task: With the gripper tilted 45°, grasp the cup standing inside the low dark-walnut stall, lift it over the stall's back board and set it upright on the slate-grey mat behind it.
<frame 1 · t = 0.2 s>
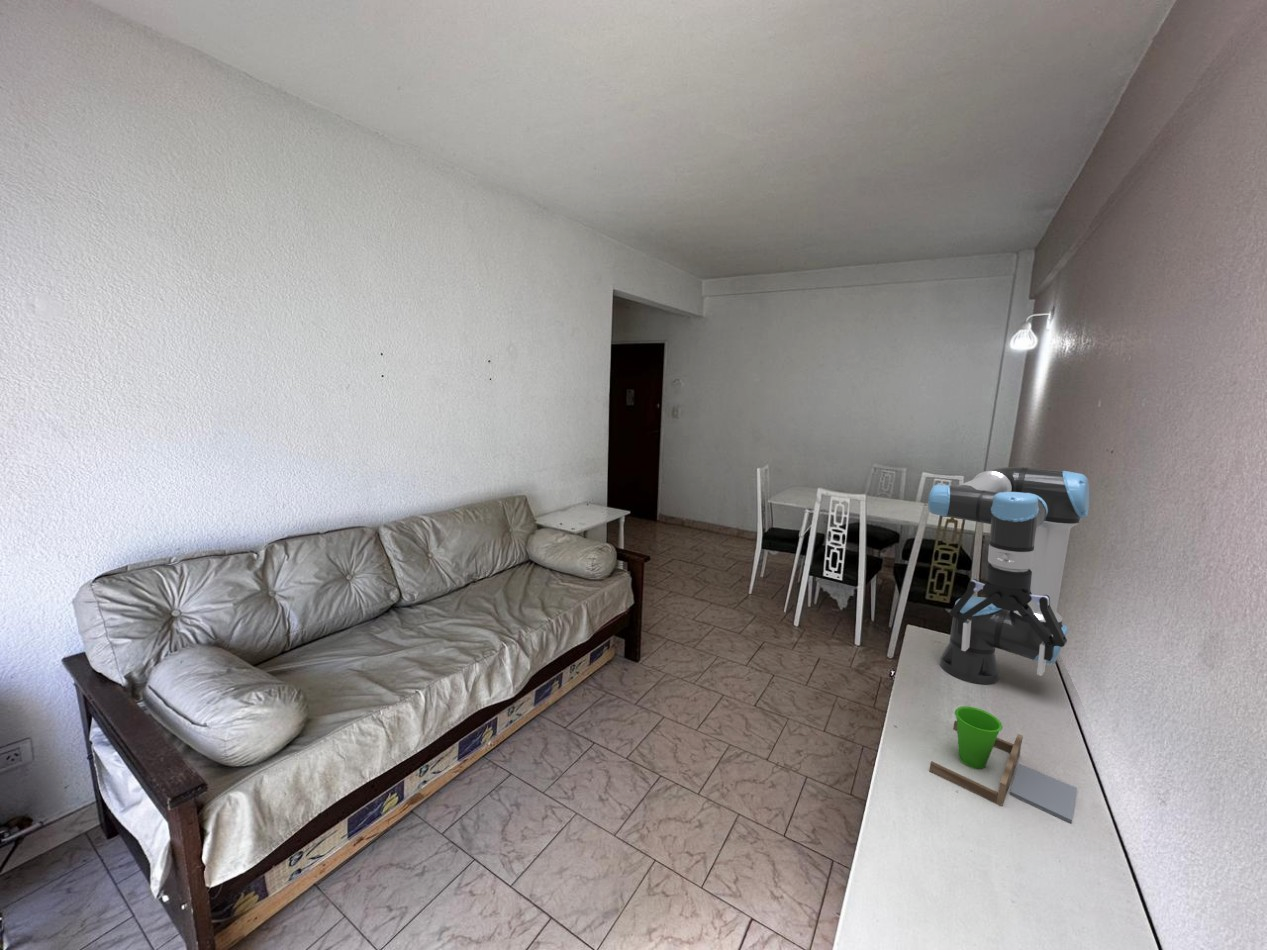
hand: (1001, 660, 108), 27 cm above the table, tool pointing down, fingers open, 13 cm apart
cup: (971, 761, 116), on the table
stall: (971, 761, 116), on the table
mat: (1043, 793, 107), on the table
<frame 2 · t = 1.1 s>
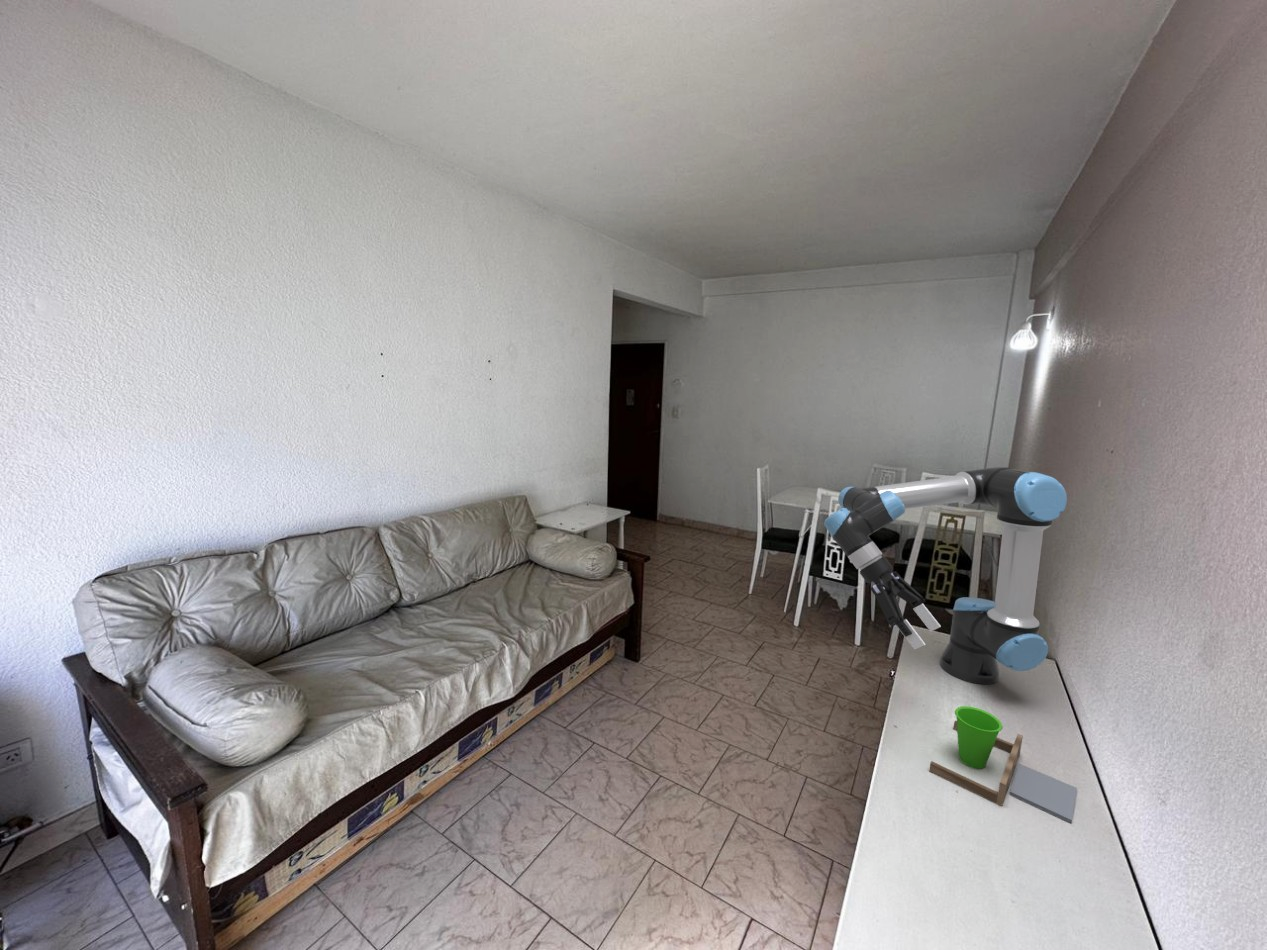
hand: (928, 637, 122), 25 cm above the table, tool tilted 45°, fingers open, 13 cm apart
nothing on the table moved.
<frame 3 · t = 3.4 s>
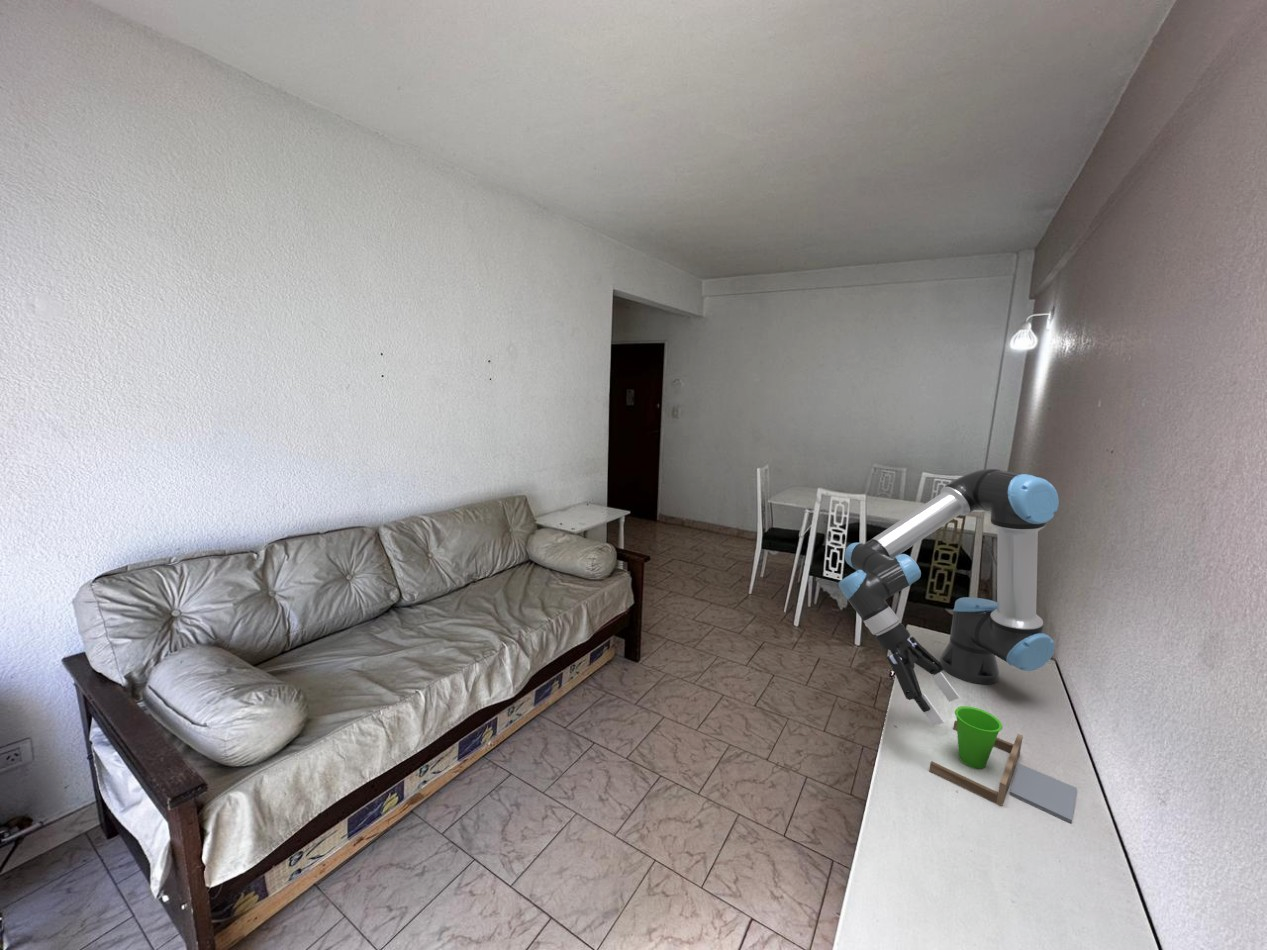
hand: (947, 711, 118), 10 cm above the table, tool tilted 45°, fingers open, 13 cm apart
nothing on the table moved.
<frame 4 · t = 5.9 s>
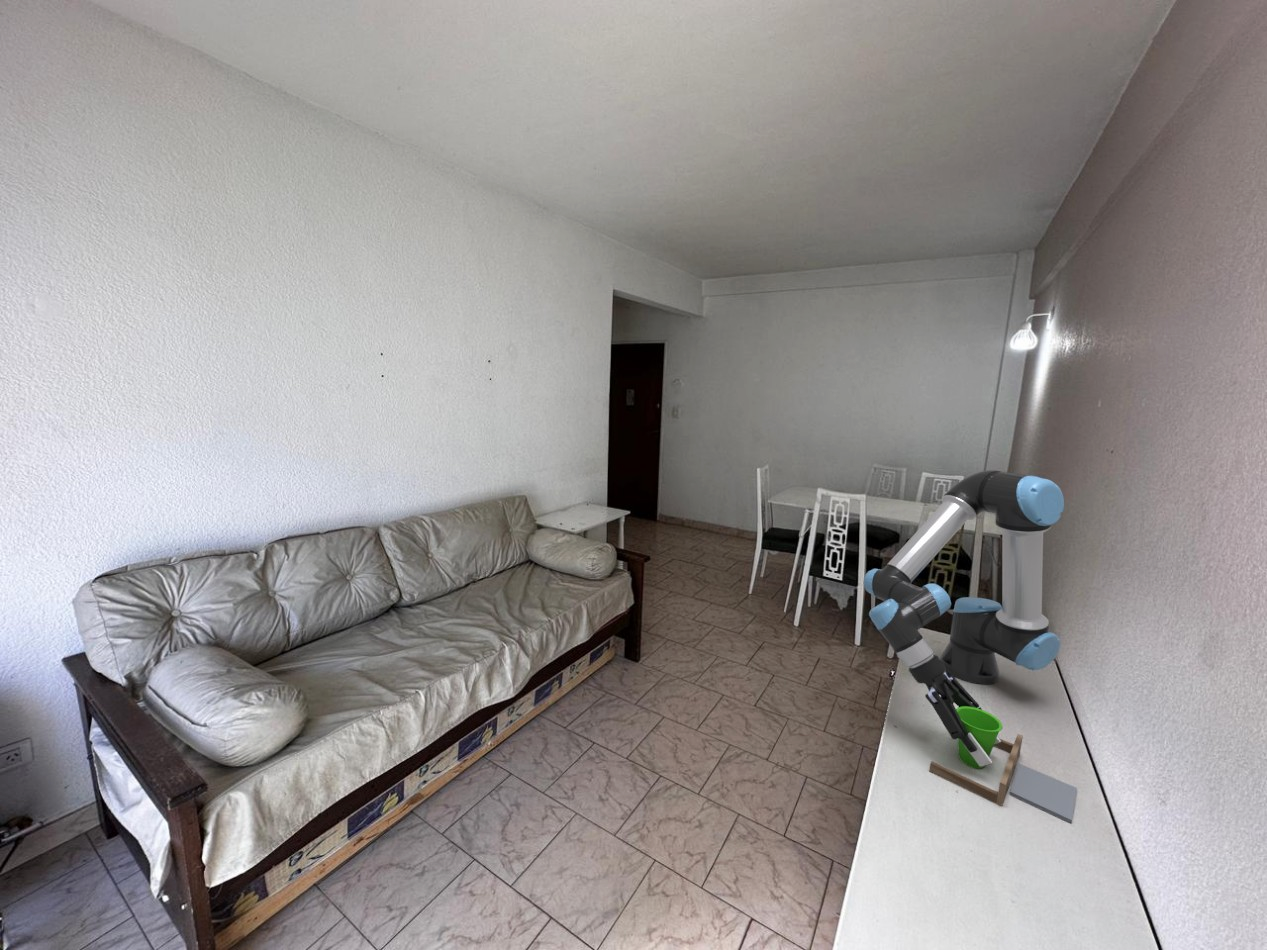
hand: (990, 753, 113), 4 cm above the table, tool tilted 45°, fingers closed on cup, 9 cm apart
cup: (971, 761, 116), on the table, touching gripper
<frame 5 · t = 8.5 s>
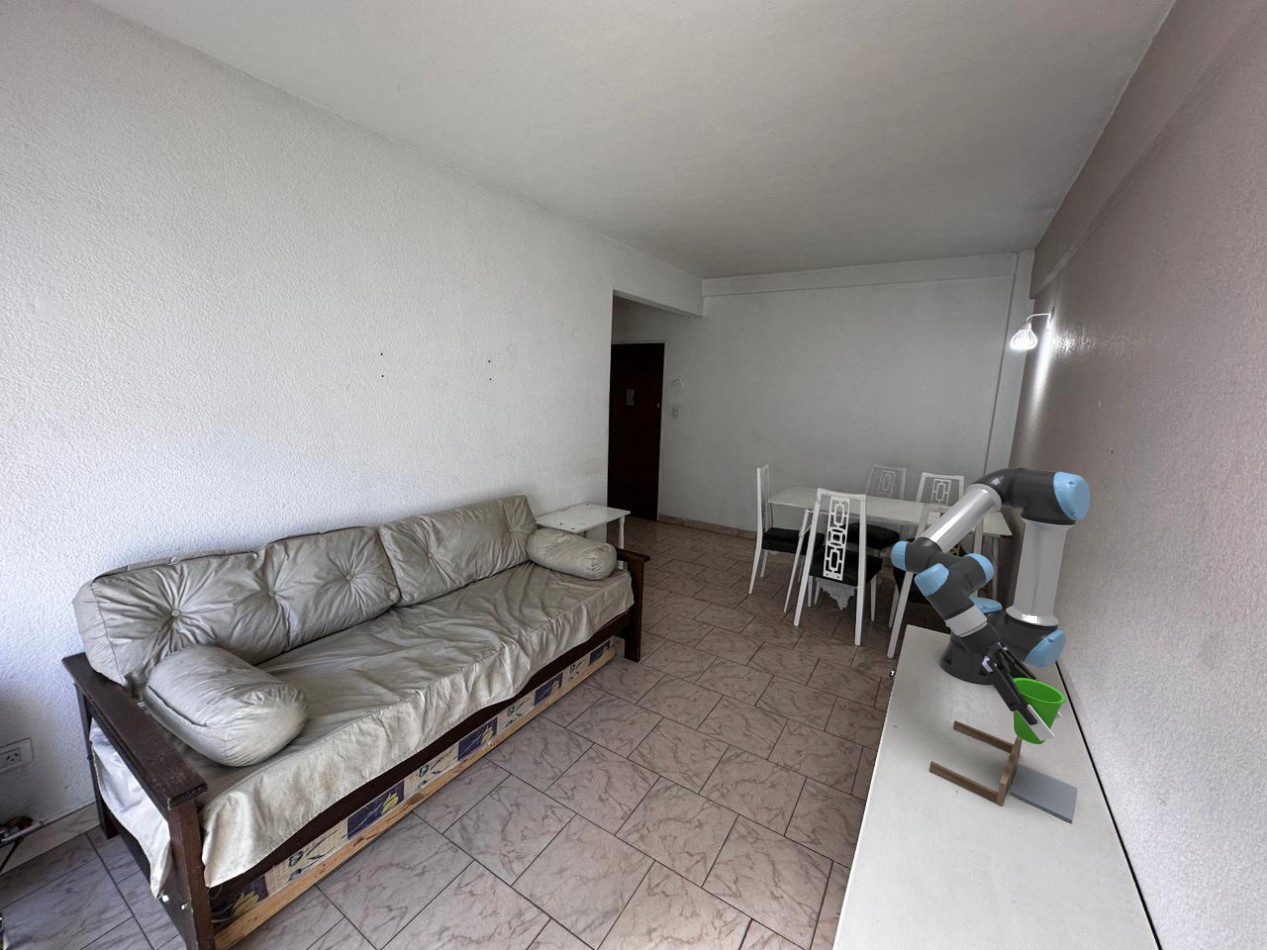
hand: (1051, 727, 104), 16 cm above the table, tool tilted 45°, fingers closed on cup, 9 cm apart
cup: (1028, 737, 107), point 12 cm above the table, touching gripper
when the fingers open (6 cm above the table, at t = 11.6 s): cup drops 1 cm, resting on mat.
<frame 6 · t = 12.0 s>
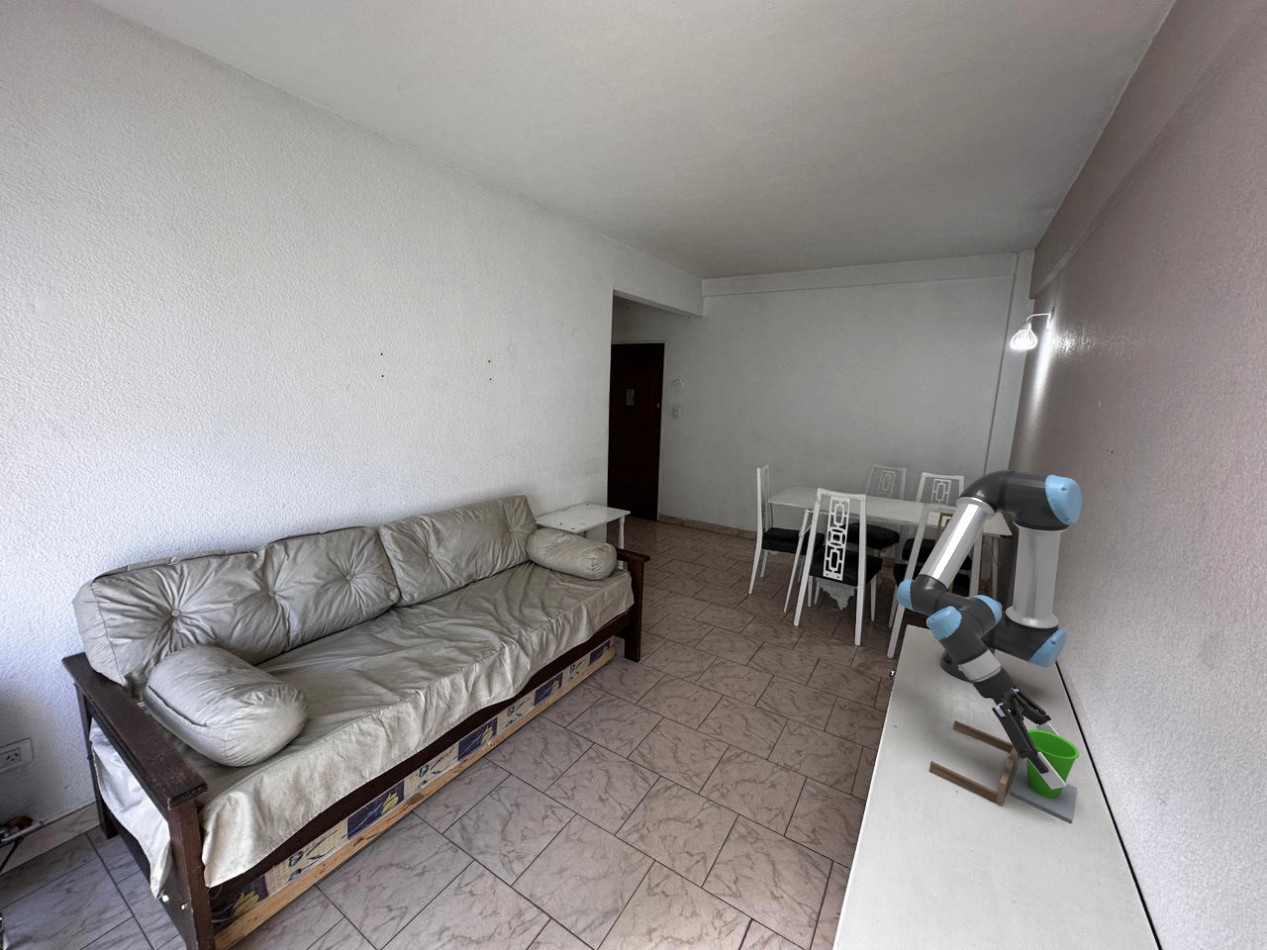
hand: (1062, 769, 104), 7 cm above the table, tool tilted 45°, fingers open, 13 cm apart
cup: (1043, 790, 107), point 1 cm above the table, touching mat
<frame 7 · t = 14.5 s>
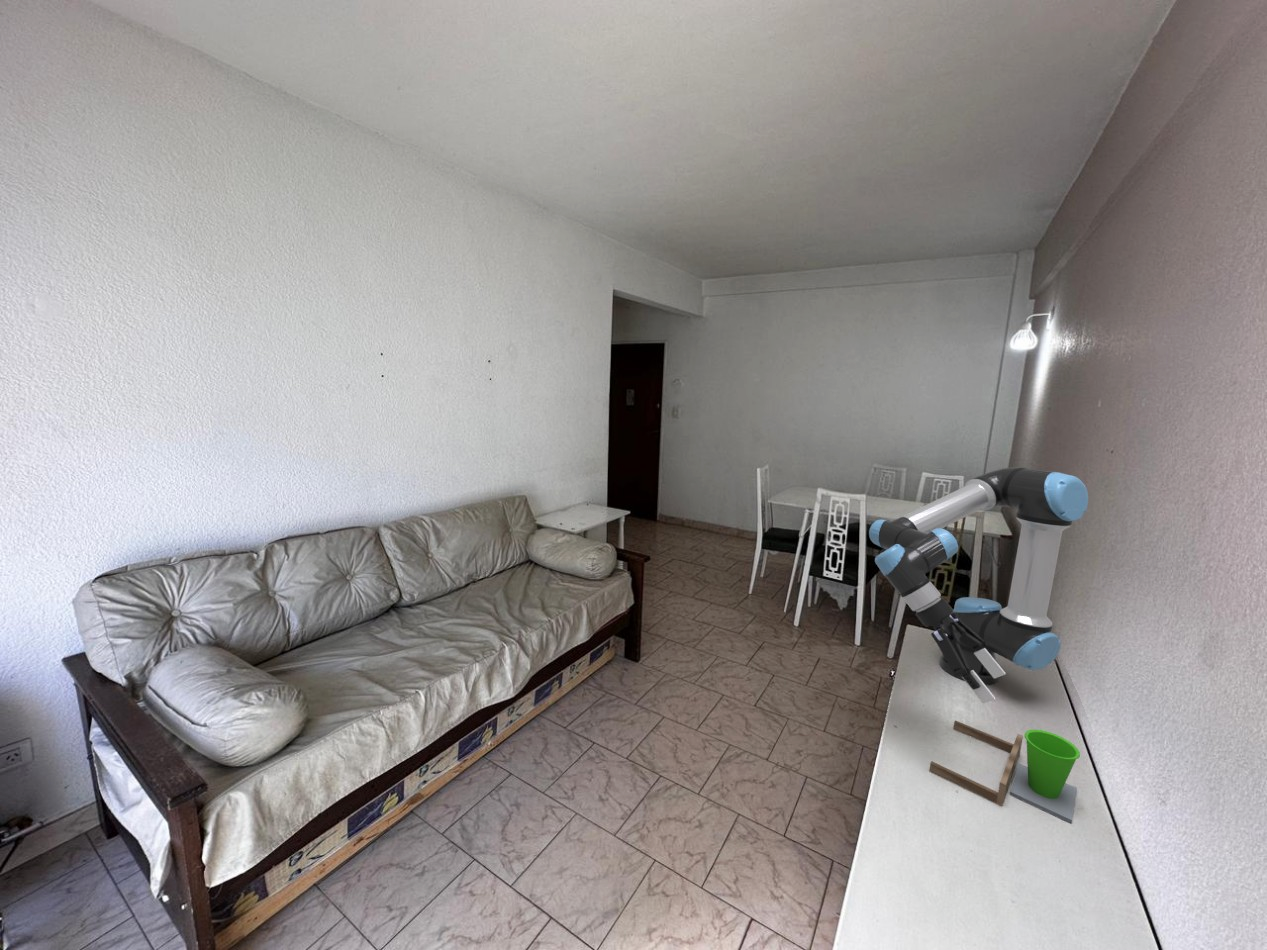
hand: (994, 688, 113), 19 cm above the table, tool tilted 45°, fingers open, 13 cm apart
nothing on the table moved.
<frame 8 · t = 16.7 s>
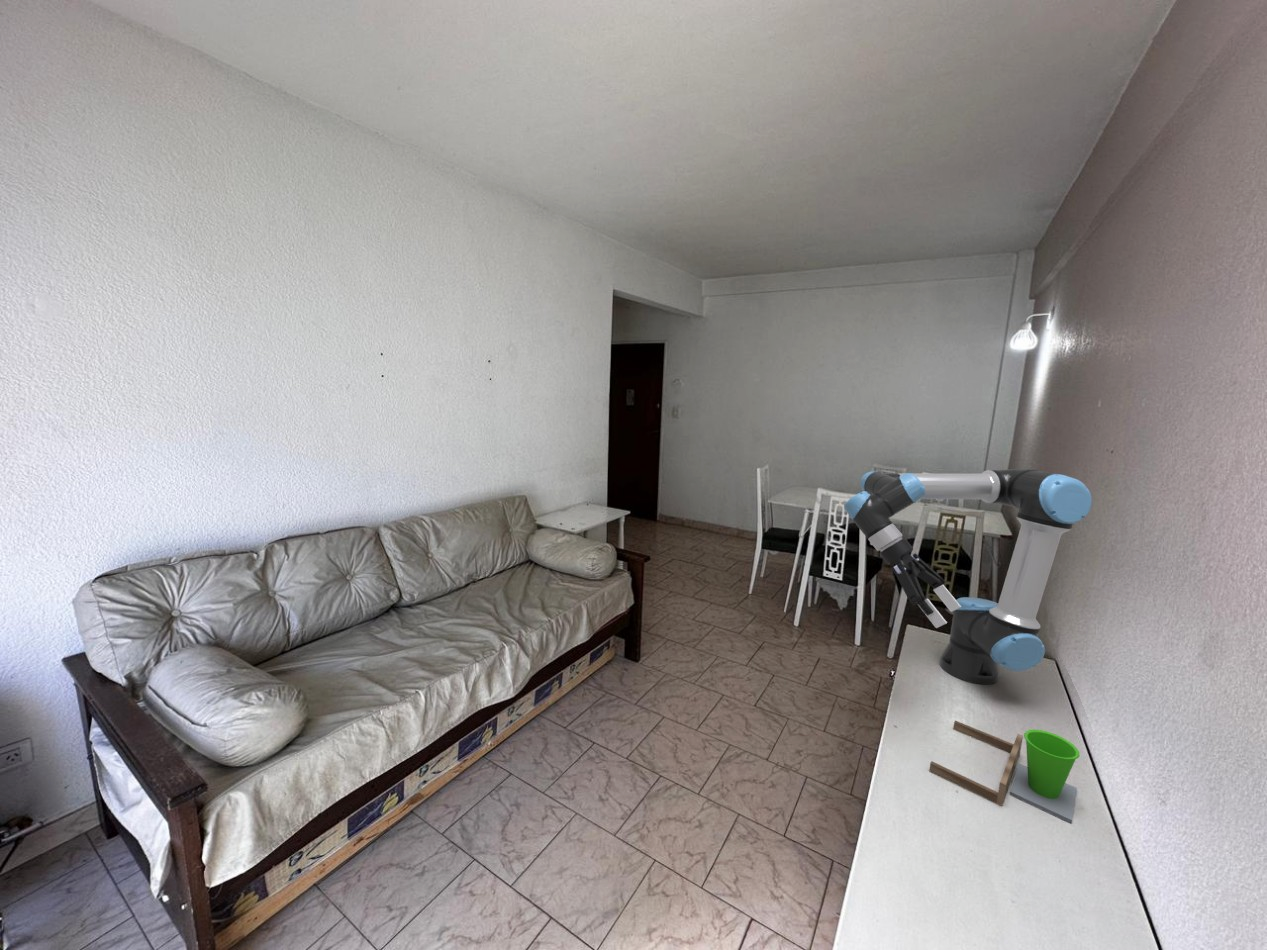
hand: (949, 617, 124), 30 cm above the table, tool tilted 45°, fingers open, 13 cm apart
nothing on the table moved.
at the end: cup 0.1 cm from the mat (horizontally); cup touching mat; cup tilted 0° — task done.
